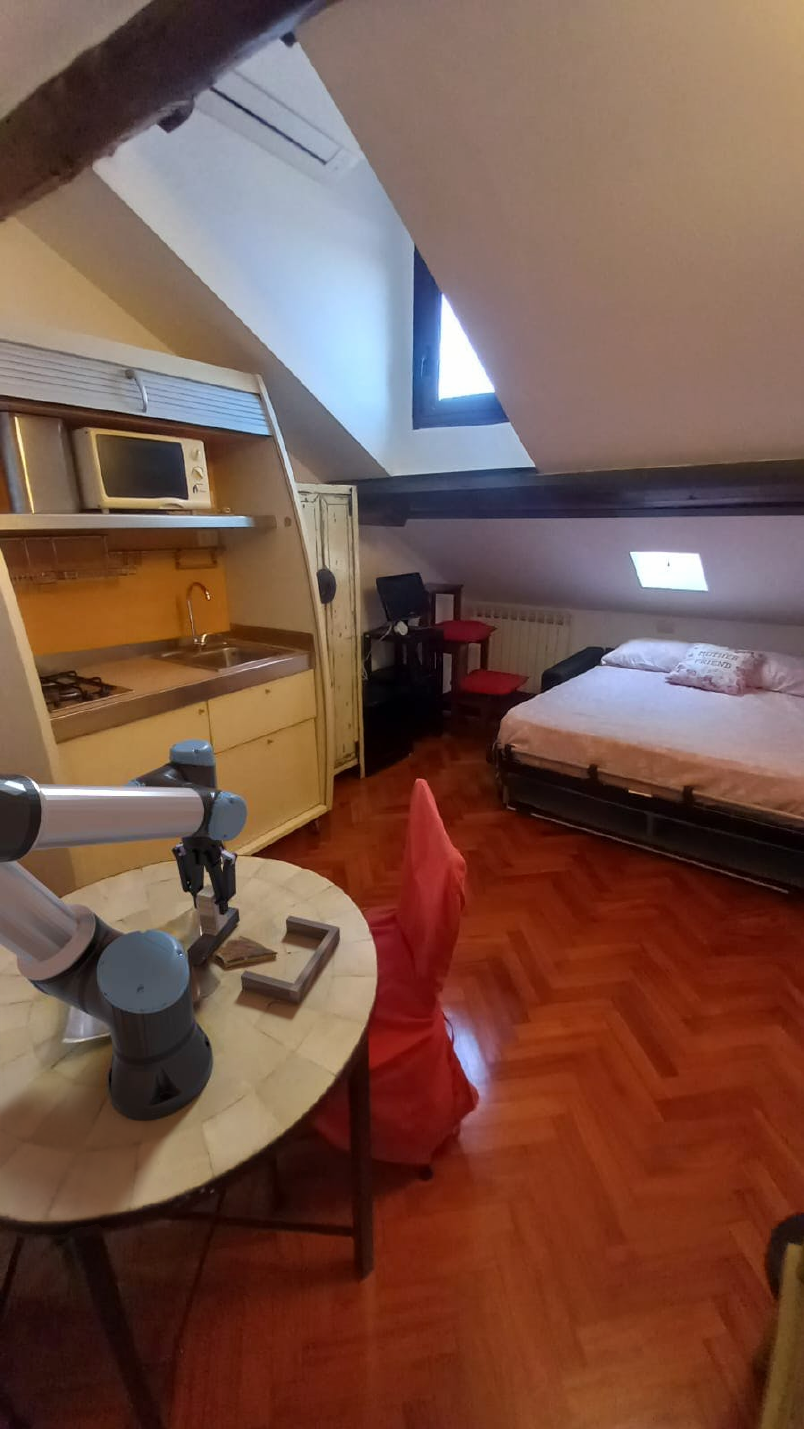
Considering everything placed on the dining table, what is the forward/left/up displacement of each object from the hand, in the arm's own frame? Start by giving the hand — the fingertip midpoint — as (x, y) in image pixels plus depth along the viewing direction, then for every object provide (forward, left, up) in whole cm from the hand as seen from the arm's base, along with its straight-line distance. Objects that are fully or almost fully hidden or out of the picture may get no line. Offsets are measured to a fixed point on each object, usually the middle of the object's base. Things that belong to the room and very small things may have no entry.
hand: (213, 923), depth 119 cm
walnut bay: (0, -18, -5) cm, 19 cm away
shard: (0, -7, -5) cm, 9 cm away
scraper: (0, 0, -4) cm, 4 cm away
